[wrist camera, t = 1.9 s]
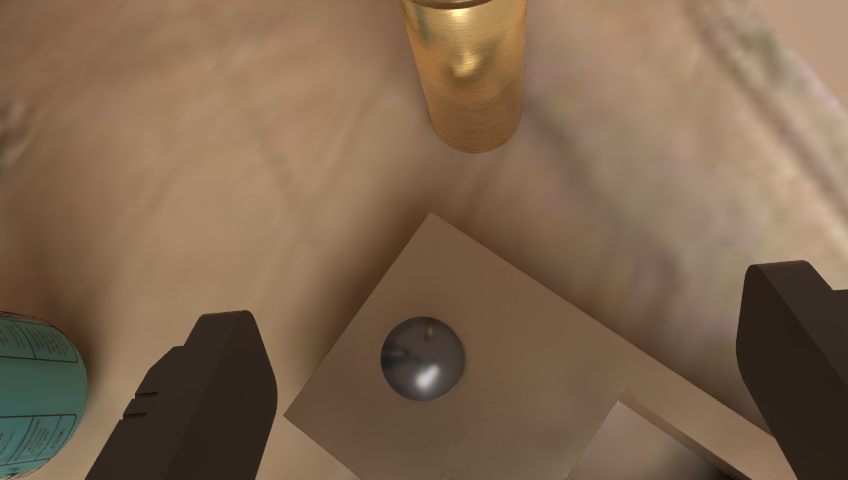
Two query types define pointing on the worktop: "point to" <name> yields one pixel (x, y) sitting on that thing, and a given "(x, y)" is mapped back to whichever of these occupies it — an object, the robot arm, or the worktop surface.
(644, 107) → the worktop surface
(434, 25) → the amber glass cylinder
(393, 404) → the metal socket block
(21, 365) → the beverage bottle
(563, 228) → the worktop surface
